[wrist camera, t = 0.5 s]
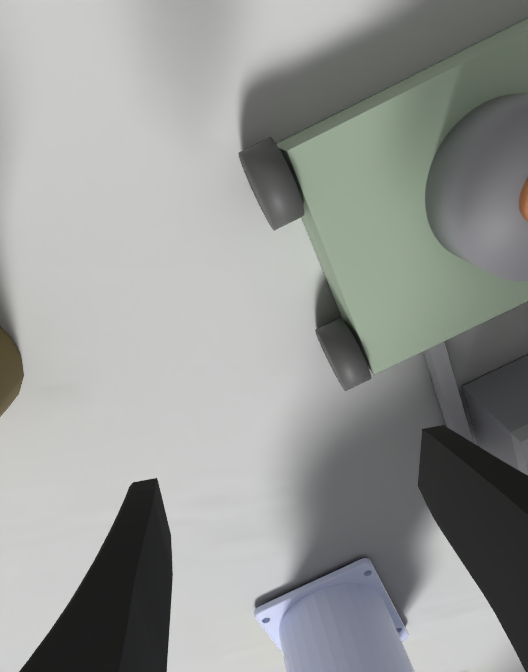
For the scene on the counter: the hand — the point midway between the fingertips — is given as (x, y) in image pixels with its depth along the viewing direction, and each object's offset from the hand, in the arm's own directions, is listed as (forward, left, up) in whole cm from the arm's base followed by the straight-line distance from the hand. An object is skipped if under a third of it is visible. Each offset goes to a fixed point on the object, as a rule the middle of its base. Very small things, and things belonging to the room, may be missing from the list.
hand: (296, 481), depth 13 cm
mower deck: (-3, -11, -10) cm, 15 cm away
